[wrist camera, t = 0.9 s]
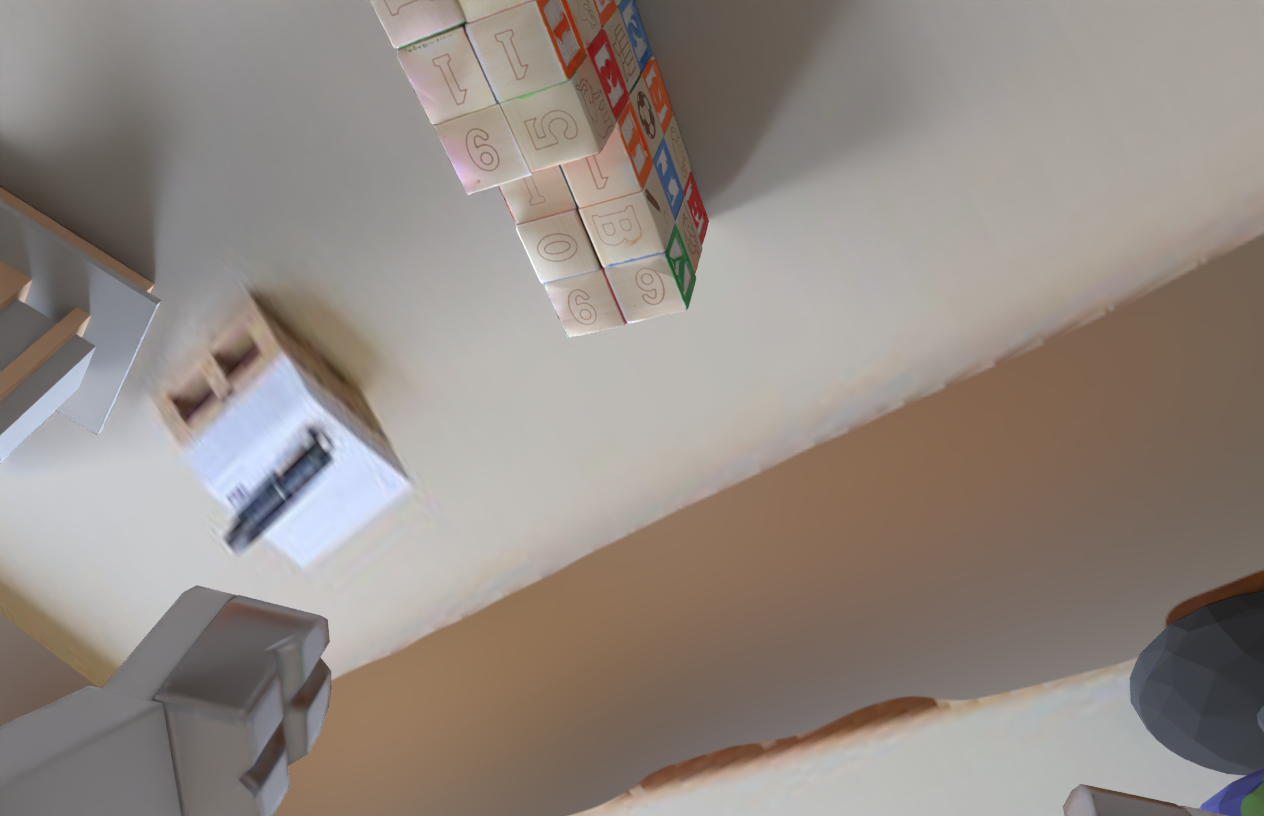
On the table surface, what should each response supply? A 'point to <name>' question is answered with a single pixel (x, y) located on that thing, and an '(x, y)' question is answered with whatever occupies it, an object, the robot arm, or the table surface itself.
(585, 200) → the stack of blocks
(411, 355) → the table surface
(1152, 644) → the globe
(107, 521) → the table surface
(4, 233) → the desk lamp
